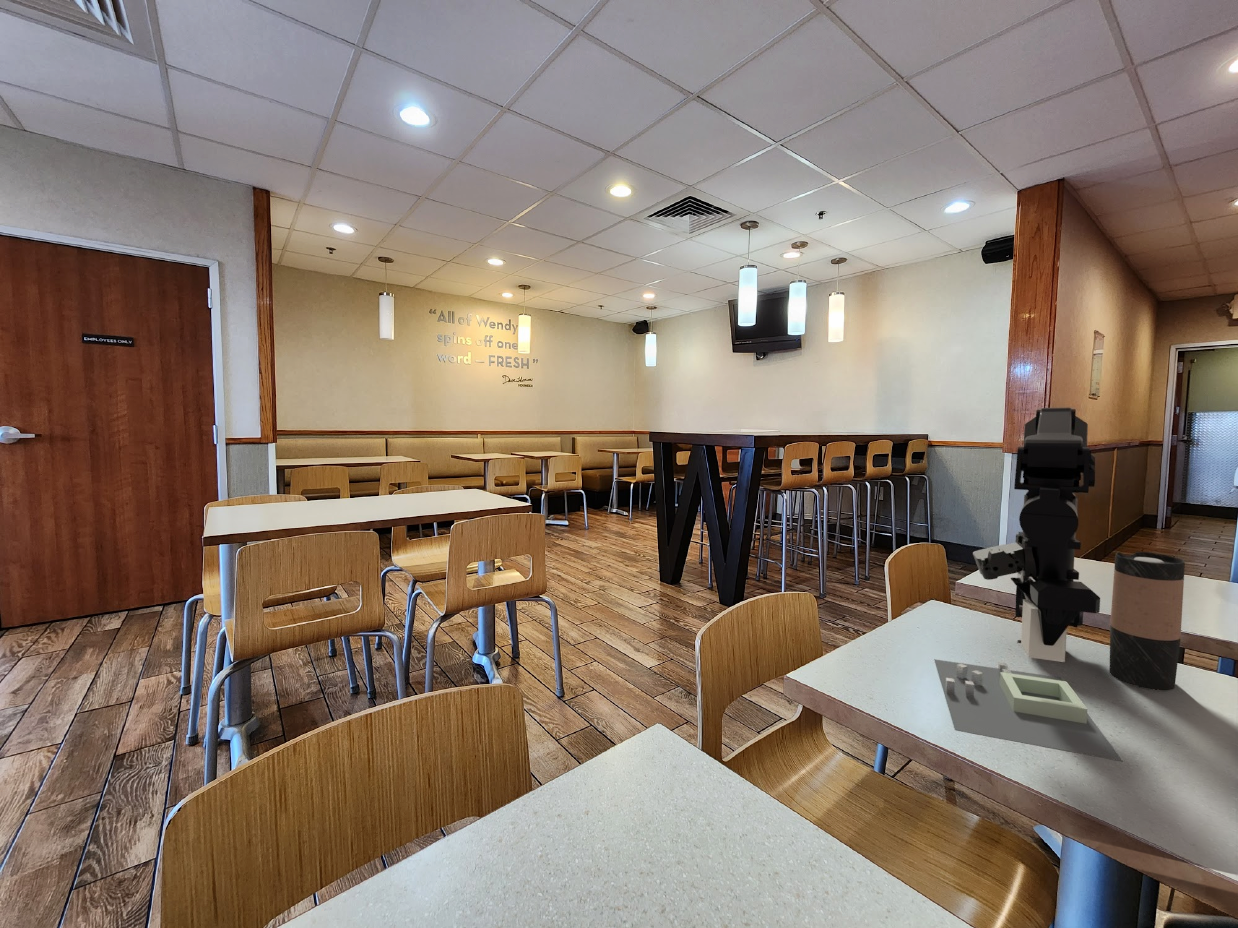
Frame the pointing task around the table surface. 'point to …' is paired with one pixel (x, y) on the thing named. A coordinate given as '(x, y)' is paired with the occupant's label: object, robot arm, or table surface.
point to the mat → (1016, 715)
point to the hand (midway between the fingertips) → (1043, 638)
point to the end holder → (1063, 709)
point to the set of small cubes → (976, 679)
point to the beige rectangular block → (1038, 637)
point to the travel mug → (1146, 619)
